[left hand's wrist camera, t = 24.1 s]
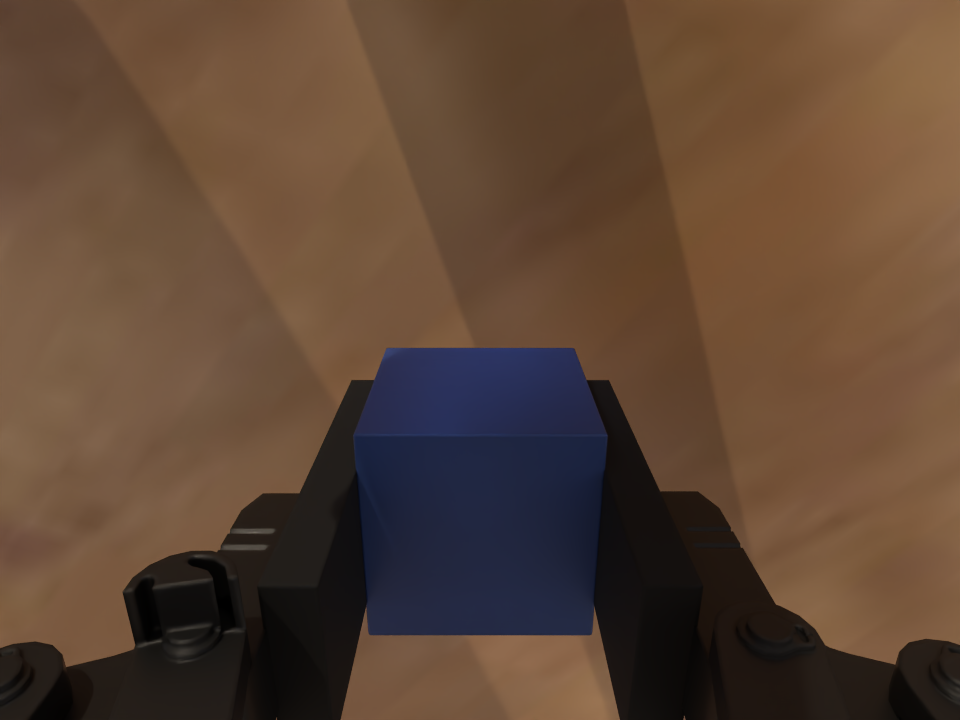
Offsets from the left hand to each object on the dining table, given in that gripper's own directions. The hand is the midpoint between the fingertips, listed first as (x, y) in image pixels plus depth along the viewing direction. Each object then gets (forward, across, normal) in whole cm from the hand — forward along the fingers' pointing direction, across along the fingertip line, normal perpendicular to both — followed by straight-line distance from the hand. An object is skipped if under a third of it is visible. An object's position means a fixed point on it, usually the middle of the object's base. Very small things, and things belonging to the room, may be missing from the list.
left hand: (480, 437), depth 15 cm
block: (0, 0, 0) cm, 0 cm away
